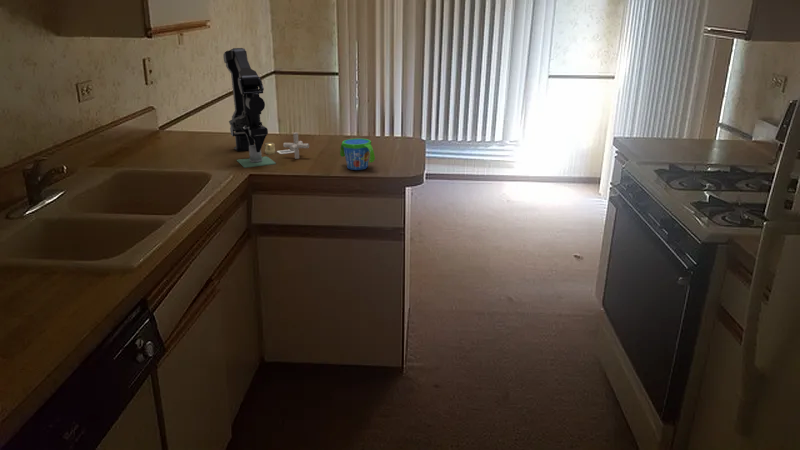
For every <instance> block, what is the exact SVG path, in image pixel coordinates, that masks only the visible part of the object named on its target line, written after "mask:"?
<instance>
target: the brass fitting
mask: <svg viewBox="0 0 800 450" xmlns="http://www.w3.org/2000/svg"><path fill="white" fill-rule="evenodd" d="M264 153H265V155H269V156H270V155H275V154H276V144H275V142H266V143H264Z"/></svg>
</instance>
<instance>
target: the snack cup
mask: <svg viewBox="0 0 800 450" xmlns="http://www.w3.org/2000/svg"><path fill="white" fill-rule="evenodd" d="M339 155H340V156H341V157H345V162H346V167H347V169H348V170H350V171H351V170H352V171H363V170H366V169H367V168H368V166H369V163H373V162H374V161H375V158H376V156H375V152H374V149H373V145H372V141H371V140H370V139H367V138H360V137H359V138H349V139H345V140H343V141H342V142H341V144H340V150H339Z"/></svg>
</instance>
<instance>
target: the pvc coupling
mask: <svg viewBox="0 0 800 450" xmlns="http://www.w3.org/2000/svg"><path fill="white" fill-rule="evenodd" d="M248 153H249V158H250V162H251V163H259V162H262V157H263V156H262V149H261V150H260V152H257V151H256V147H255V144H254V145H250V146H249V150H248Z"/></svg>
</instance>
